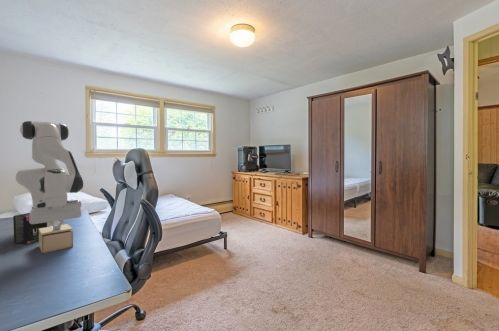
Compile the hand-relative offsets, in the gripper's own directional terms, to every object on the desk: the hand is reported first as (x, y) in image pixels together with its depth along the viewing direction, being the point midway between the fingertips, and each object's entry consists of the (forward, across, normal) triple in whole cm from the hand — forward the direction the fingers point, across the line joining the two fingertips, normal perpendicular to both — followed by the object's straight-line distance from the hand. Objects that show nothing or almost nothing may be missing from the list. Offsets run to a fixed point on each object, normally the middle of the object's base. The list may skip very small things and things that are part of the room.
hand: (56, 229), depth 120 cm
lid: (+1, 0, -4) cm, 5 cm away
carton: (+10, 0, -4) cm, 10 cm away
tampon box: (+10, +8, -26) cm, 29 cm away
